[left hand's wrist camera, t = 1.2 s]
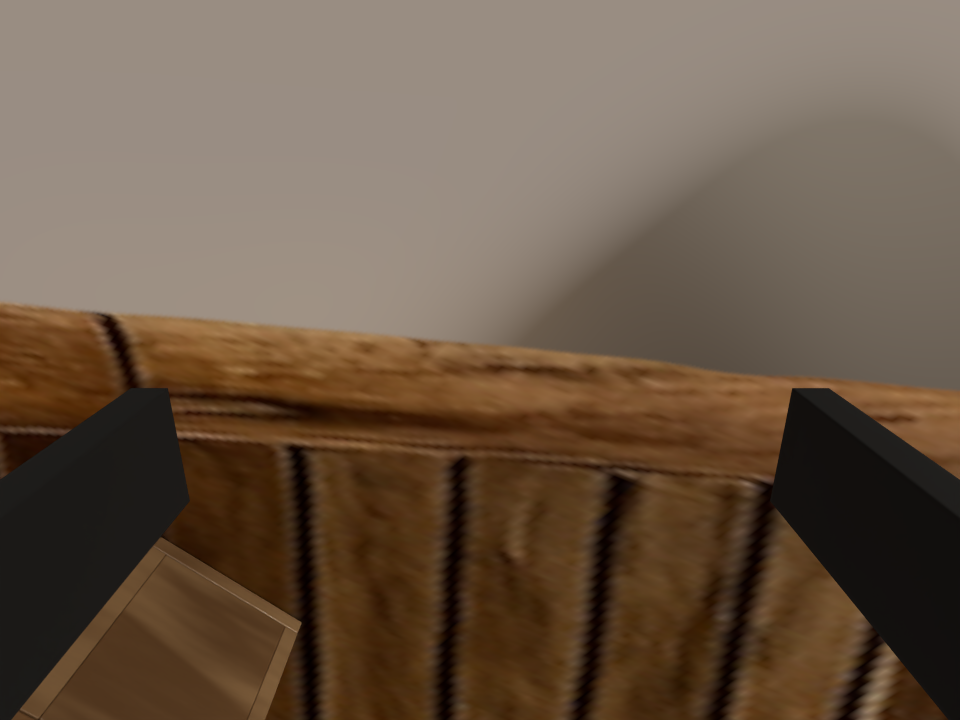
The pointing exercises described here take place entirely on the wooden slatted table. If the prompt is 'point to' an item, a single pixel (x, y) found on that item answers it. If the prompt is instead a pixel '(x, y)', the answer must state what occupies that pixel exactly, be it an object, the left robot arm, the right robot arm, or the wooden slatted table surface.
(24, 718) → the lid
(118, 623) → the chest
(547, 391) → the wooden slatted table surface
